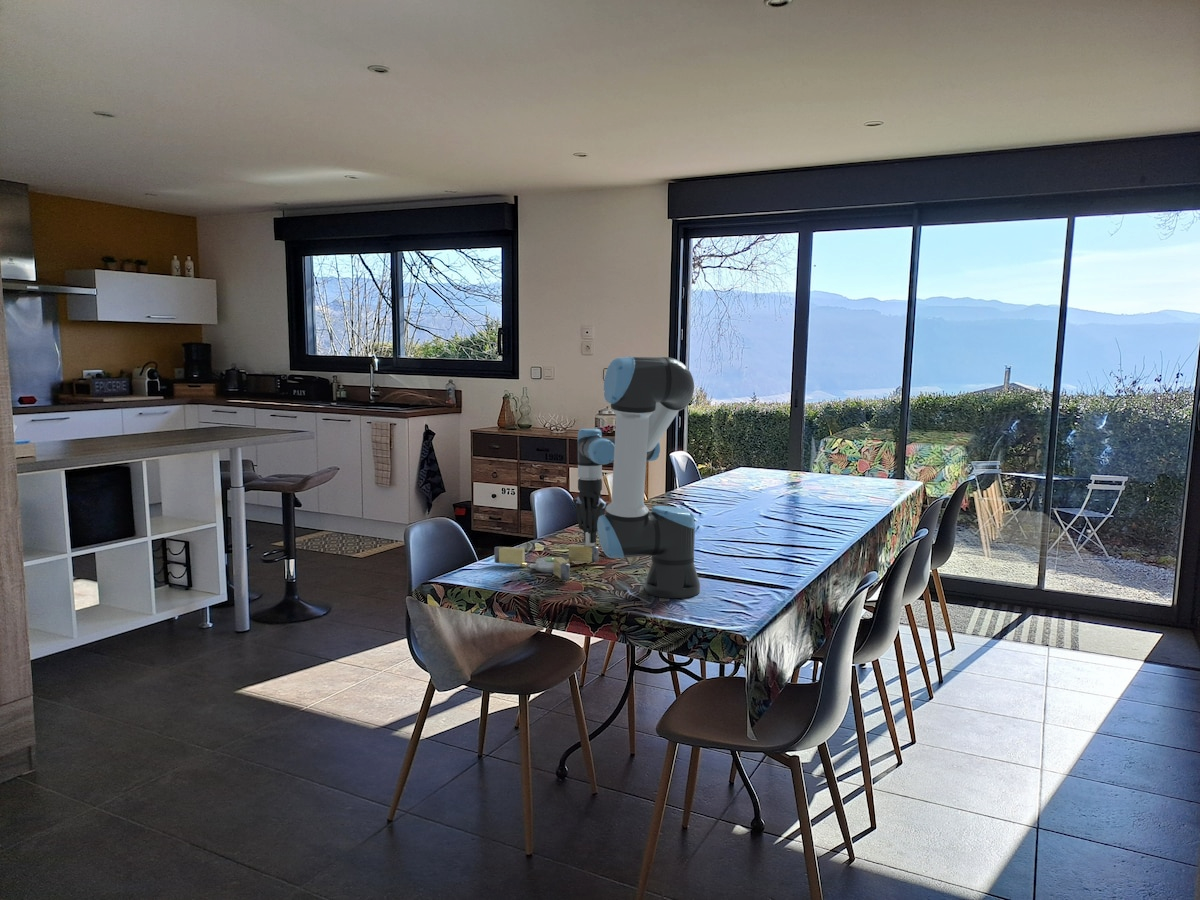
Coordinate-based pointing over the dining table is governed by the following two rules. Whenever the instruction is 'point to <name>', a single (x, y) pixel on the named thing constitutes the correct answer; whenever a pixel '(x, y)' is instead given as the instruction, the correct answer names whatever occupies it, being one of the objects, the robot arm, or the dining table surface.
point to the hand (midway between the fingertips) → (590, 552)
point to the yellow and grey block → (510, 555)
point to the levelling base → (544, 565)
